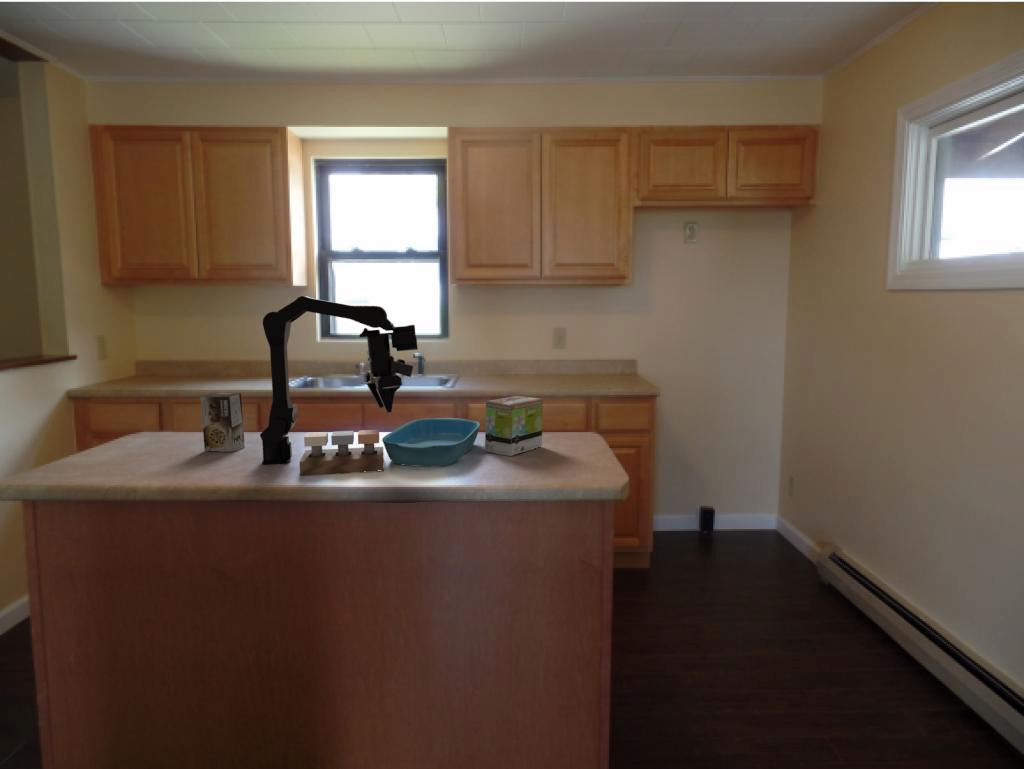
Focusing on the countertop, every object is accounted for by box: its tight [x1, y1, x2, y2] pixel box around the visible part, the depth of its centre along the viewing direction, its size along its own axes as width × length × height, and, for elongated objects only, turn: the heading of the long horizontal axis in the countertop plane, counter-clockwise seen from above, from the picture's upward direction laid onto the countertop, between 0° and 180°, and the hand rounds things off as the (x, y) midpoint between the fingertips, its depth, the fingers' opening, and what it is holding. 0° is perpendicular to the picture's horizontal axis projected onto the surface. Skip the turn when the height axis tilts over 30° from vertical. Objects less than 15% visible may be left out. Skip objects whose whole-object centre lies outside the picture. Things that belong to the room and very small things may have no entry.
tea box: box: [484, 395, 544, 457], centre depth 176 cm, size 15×10×15 cm, turn 143°
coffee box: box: [199, 392, 246, 453], centre depth 176 cm, size 9×6×16 cm
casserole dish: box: [381, 417, 481, 467], centre depth 172 cm, size 37×22×7 cm, turn 170°
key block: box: [299, 446, 384, 476], centre depth 158 cm, size 20×12×4 cm, turn 102°
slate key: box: [330, 430, 355, 456], centre depth 157 cm, size 5×5×6 cm
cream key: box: [303, 431, 329, 457], centre depth 156 cm, size 5×5×6 cm
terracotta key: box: [357, 429, 380, 455], centre depth 158 cm, size 5×5×6 cm
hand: (385, 409), depth 167 cm, fingers open, 9 cm apart
